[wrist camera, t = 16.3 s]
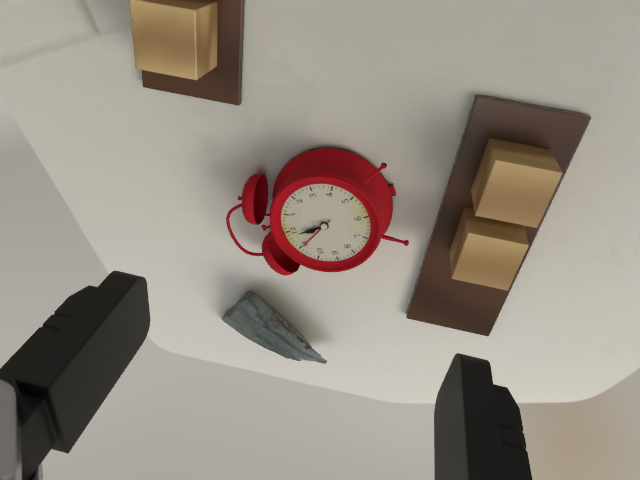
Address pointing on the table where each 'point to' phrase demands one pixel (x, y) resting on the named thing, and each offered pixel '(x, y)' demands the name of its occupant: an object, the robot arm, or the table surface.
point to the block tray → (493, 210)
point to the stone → (269, 329)
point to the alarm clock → (320, 212)
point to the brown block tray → (190, 46)
